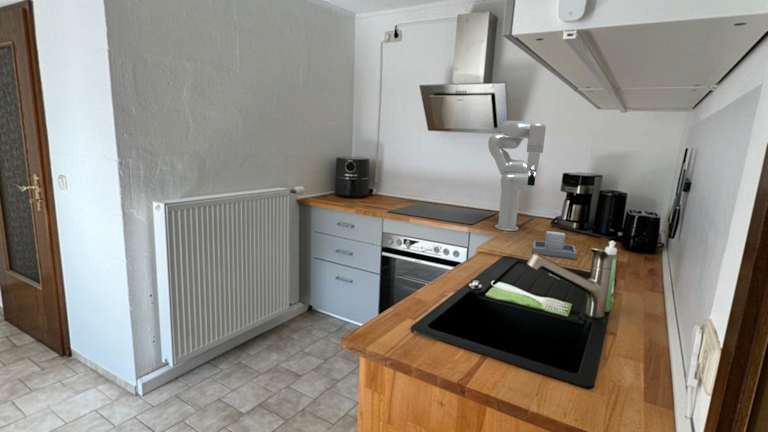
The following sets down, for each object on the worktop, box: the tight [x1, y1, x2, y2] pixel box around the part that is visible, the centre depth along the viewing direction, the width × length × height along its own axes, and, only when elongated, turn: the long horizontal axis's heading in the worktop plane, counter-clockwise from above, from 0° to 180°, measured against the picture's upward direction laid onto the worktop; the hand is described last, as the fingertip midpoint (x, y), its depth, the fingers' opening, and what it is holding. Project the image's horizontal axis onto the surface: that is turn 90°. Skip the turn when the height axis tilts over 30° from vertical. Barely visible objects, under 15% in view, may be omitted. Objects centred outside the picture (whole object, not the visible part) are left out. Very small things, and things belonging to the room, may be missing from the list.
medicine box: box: [544, 230, 566, 251], centre depth 186 cm, size 8×4×9 cm, turn 69°
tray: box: [532, 240, 578, 260], centre depth 187 cm, size 14×18×3 cm
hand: (530, 184), depth 203 cm, fingers open, 9 cm apart
